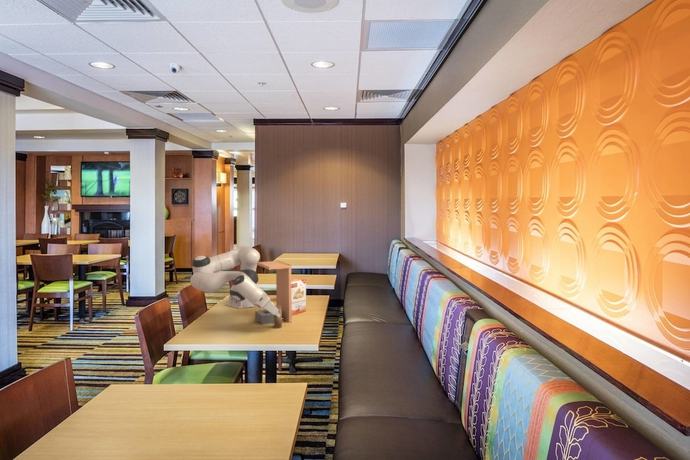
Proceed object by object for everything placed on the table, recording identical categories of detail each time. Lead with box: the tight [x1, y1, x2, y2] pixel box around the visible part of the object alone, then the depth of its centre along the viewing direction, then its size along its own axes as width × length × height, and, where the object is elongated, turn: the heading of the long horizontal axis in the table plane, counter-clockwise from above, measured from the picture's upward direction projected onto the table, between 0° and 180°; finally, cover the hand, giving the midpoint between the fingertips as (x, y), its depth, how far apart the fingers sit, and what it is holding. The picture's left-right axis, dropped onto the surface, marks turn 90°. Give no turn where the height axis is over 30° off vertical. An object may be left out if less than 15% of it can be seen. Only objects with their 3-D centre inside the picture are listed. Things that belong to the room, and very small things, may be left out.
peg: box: [273, 304, 283, 329], centre depth 230 cm, size 4×4×12 cm
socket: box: [254, 309, 274, 325], centre depth 243 cm, size 12×12×5 cm
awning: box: [257, 260, 293, 324], centre depth 244 cm, size 13×20×33 cm, turn 30°
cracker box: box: [291, 277, 307, 316], centre depth 259 cm, size 14×6×21 cm, turn 143°
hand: (276, 314), depth 229 cm, fingers open, 8 cm apart
